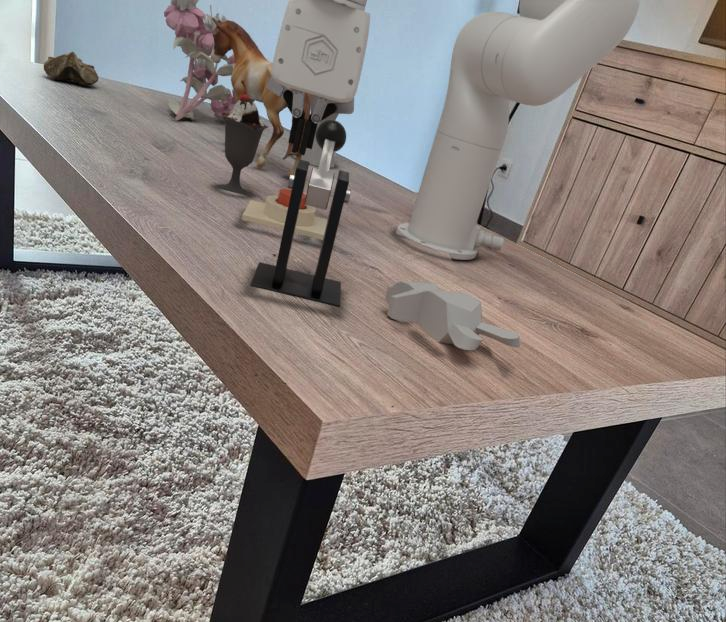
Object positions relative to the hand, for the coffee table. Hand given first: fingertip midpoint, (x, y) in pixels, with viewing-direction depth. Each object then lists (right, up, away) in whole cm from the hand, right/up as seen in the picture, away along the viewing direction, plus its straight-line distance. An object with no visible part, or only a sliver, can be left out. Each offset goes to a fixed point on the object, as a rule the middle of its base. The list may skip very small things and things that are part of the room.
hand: (298, 151), depth 85 cm
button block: (-2, -9, +5) cm, 10 cm away
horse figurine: (-13, +10, +34) cm, 38 cm away
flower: (-25, +27, +61) cm, 71 cm away
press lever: (+4, -7, -15) cm, 17 cm away
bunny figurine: (+16, -25, -15) cm, 33 cm away
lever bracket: (+1, -20, -14) cm, 24 cm away
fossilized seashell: (-53, +34, +58) cm, 86 cm away
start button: (-1, -6, +3) cm, 7 cm away
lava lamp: (-2, +16, +51) cm, 54 cm away
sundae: (-11, -1, +15) cm, 18 cm away
